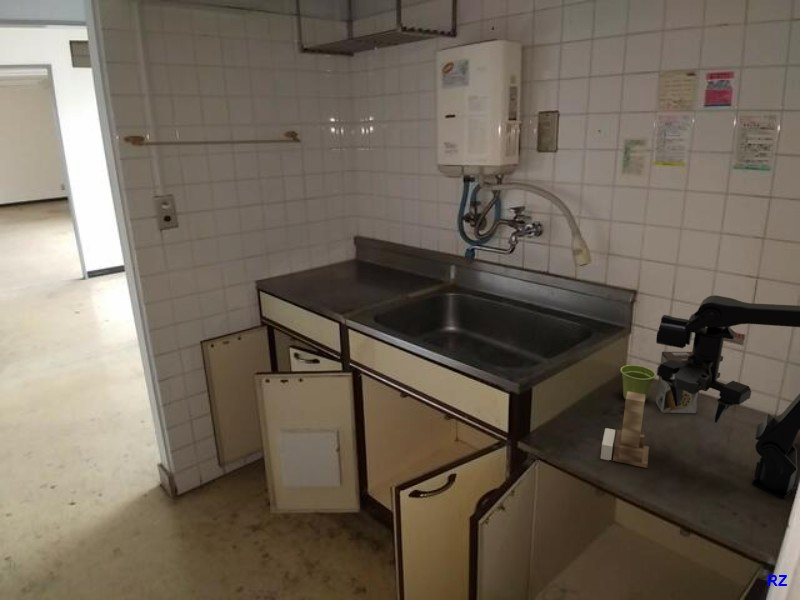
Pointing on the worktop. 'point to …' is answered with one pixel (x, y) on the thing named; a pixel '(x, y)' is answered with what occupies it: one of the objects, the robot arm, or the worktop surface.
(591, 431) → the worktop surface
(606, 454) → the white rectangular block
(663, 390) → the coffee box
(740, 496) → the worktop surface
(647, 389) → the plant pot
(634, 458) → the walnut cradle
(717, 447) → the worktop surface
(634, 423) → the oak peg
